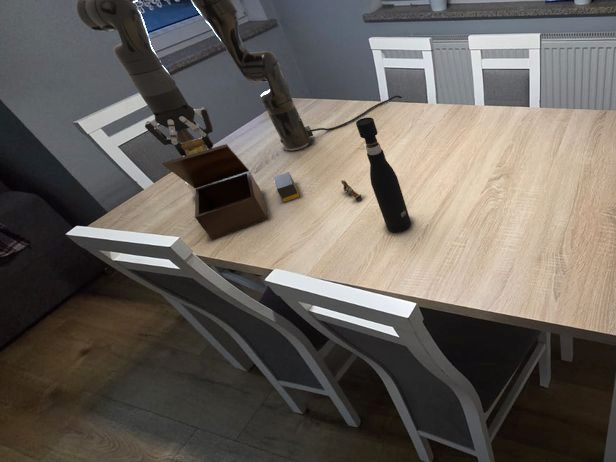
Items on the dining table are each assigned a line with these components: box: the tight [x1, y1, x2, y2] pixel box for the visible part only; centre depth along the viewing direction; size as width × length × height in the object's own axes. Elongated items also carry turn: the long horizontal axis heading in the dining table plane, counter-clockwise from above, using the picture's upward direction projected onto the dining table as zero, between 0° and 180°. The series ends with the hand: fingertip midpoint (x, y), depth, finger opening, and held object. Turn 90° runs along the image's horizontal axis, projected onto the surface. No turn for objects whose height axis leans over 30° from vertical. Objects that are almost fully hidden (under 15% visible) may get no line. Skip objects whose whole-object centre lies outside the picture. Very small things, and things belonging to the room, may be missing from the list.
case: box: [194, 170, 269, 240], centre depth 116 cm, size 17×15×8 cm
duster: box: [273, 171, 300, 203], centre depth 123 cm, size 5×8×5 cm, turn 30°
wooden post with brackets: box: [340, 179, 363, 202], centre depth 119 cm, size 2×8×4 cm, turn 49°
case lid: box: [162, 137, 250, 188], centre depth 110 cm, size 18×15×5 cm
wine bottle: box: [355, 116, 412, 234], centre depth 97 cm, size 6×6×30 cm
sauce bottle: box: [177, 128, 204, 157], centre depth 133 cm, size 7×6×20 cm
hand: (199, 151), depth 106 cm, fingers closed on case lid, 5 cm apart
